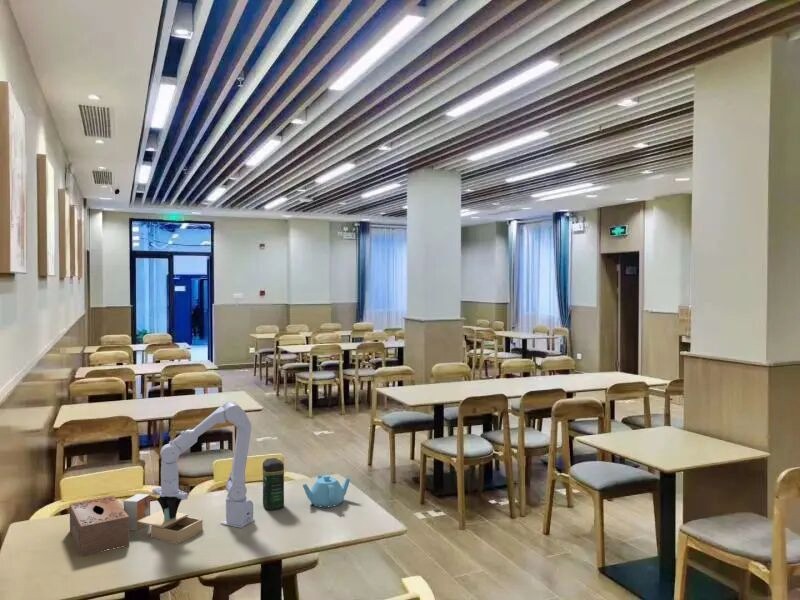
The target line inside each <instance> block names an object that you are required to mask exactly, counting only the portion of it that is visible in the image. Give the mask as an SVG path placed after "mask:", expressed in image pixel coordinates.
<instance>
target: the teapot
mask: <svg viewBox="0 0 800 600" xmlns="http://www.w3.org/2000/svg"><path fill="white" fill-rule="evenodd" d="M350 481H351V478H350V477H348V478H347V477H346V478H345V480H344V481H343V483H342V485H341V483H340V482H339V480H338V479H337V478H335V477H331V476H330V475H328V474H326V475H322V474H318V475H317V479H316V481H314V483H313V485H312V487H311V489H310V488H309V486H308V484H307V483H304V484H302V487H303V489H304V492H305V494H306V497H307V499H308V500H309V502H311V504H312V505H313V504H314V505H313V506H315V505H316V506H315V507H317V506H321V507H320V508H329V507H328V506H333V507H335V506H334V505H337V504H339V503H340V504H341V503H342V502H343V501H344V499H345V496H346V493H347V491H348V488H349V484H350V483H351V482H350ZM340 504H339V505H340ZM337 506H338V505H337Z"/></svg>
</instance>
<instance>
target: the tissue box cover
mask: <svg viewBox="0 0 800 600" xmlns="http://www.w3.org/2000/svg"><path fill="white" fill-rule="evenodd" d="M69 532H70V535H71V536H73V537H72V539H73V541H74V544H75V543H76V544H75V546H76V547H77V548H76V549H77V551H78V552H79V555H80V557H81V556H82V557H85V556H89V554H91V555H94V553H95V554H98V552H99V553H102V552H101V551H103V552H105V551H104V550H107V549H112V550H114V549H113V548H116V549H118V548H117V547H120V548H123V547H122V546H124V547H127V546H128V547H129V546H130V530H129V516H128V515H127V513H126V512H125V510H124V507H122V505H121V503H120V502H119V501H118V499H117V498H116V497H115V495H111V496H104V497H99V498H94V499H93V498H92V499H89V500H83V501H78V502H73V503H69ZM107 551H108V550H107Z"/></svg>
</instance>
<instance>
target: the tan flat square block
mask: <svg viewBox="0 0 800 600" xmlns="http://www.w3.org/2000/svg"><path fill="white" fill-rule="evenodd" d="M185 517H189V514H188V513H182V512H178V511H177V514H176V517H174V518H172V519H170V515H169V507H168V508H166V509H164V513H163V510H162V509H161V510H159V511H157V512H154V513H152V514H150V515H149V516H147V517H145V518H143V519H140V520H138V521H137V523H140V524H145V526H150V527H151V526H155V527H160V528H164V527H166V526H168V525H170V524H172V523H174V522H176V521H178V520H181V519H183V518H185Z"/></svg>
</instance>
